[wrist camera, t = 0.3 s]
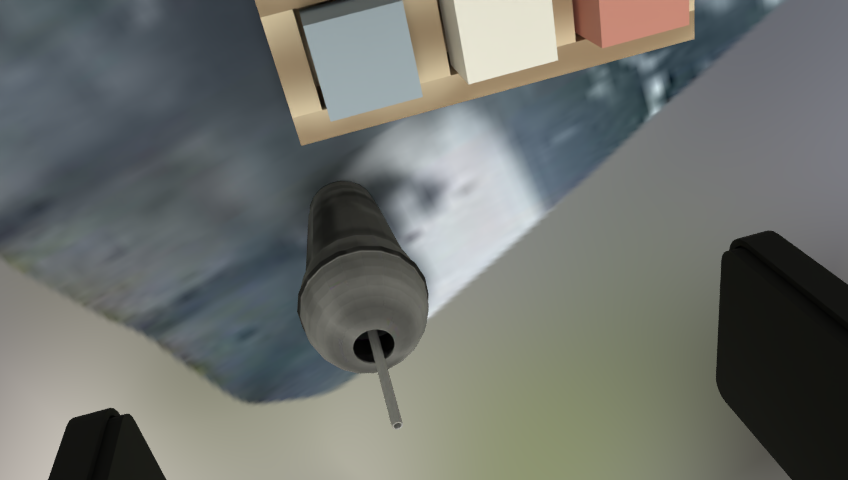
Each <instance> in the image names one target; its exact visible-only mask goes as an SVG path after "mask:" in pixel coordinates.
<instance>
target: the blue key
mask: <svg viewBox="0 0 848 480" xmlns="http://www.w3.org/2000/svg"><path fill="white" fill-rule="evenodd" d="M299 12H300V17H301V21H302V25H303V28H304V32H305V35H306V39H307V42H308V45H309V49H310V52H311V56H312V59H313V63H314V66H315V70H316V73H317V76H318V80H319V83H320V87H321V90H322V94H323V97H324V101H325V104H326V107H327V111H328V114H329V118H330V121H331V122H332V121H335V120H339V119H343V118H346V117H350V116H354V115H358V114H361V113H365V112H369V111H372V110H376V109H380V108H383V107H387V106H391V105H395V104H398V103H402V102H406V101H409V100H413V99H417V98H421V97H423V94H422V90H421V85H420V80H419V76H418V71H417V66H416V61H415V57H414V52H413V47H412V43H411V38H410V33H409V29H408V24H407V19H406V14H405V10H404V5H403V1H402V0H336V1H332V2H328V3H324V4H320V5H316V6H312V7H308V8H304V9H301V10H299Z"/></svg>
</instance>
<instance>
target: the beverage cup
mask: <svg viewBox="0 0 848 480" xmlns="http://www.w3.org/2000/svg"><path fill="white" fill-rule="evenodd" d="M297 312H298V315H299V318H300V321H301V324H302V327H303V329H304V331H305V332H306V335H307V337H308V339H309V341H310V343H311V344H312V345H313V347H314V348H315V349H316V350H317V351H318V352H319V354H320V355H321V356H322V357H323V358H324V359H325V360H327V361H328V362H330V363H332V364H334V365H335V366H337V367H339V368H340V369H342V370H346V371H351V372H355V373H376V372H378V375H379V379H380V382H381V386H382V390H383V394H384V398H385V402H386V405H387V409H388V412H389V417H390V421H391V424H392V428H394V429H400V428H401V427H402V425H403V423H402V420H401V416H400V413H399V409H398V405H397V401H396V398H395V394H394V391H393V387H392V383H391V380H390V376H389V372H388V369H389V368H391V367H393V366H394V365H396V364H398V363H400V362H401V361H403V360H404V359H405V358H406V357H407V356H408V355H409V354H410V353H411V352H412V351H413V350H414V349H415V347H416V346H417V344H418V342H419V340H420V339H421V337H422V335H423V333H424V331H425V327H426V322H427V316H428V290H427V285H426V281H425V277H424V275H423V274H422V272H421V271H420V269H419V268H418V267H417V265H416V264H415V262H413V261H412V260H410V258H409V257H408V256H407V254H406V253H405V252H404V251H403V250H402V249H401V247H400V245H399V244H398V242H397V240H396V238H395V236H394V234H393V233H392V231H391V229H390V227H389V225H388V223H387V222H386V220H385V218H384V216H383V214H382V213H381V211H380V209H379V207H378V206H377V204H376V203H375V201H374V200H373V198H372V197H371V195H370V194H369V192H368V191H367V190H366V189H365V188H363V187H362V186H361V185H359V184H356V183H353V182H348V181H339V182H335V183H331V184H328V185H327V186H325V187H323V188H322V189H320V190H319V192H318V193H317V194H316V195H315V196H314V198H313V200H312V202H311V205H310V213H309V220H308V239H307V259H306V273H305V275H304V278H303V281H302V285H301V289H300V291H299V294H298V309H297Z"/></svg>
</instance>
